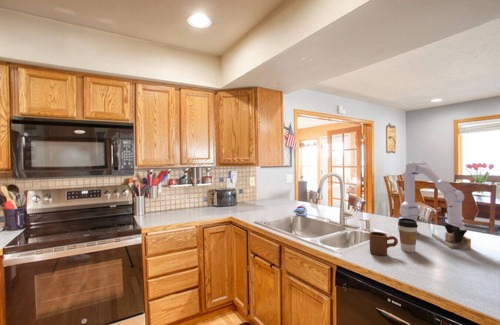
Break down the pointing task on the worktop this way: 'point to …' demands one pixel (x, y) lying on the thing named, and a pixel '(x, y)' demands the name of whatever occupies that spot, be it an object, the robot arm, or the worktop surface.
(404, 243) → the coffee cup
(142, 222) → the worktop surface
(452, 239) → the cabinet block
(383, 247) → the mug
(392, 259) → the worktop surface
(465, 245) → the board
